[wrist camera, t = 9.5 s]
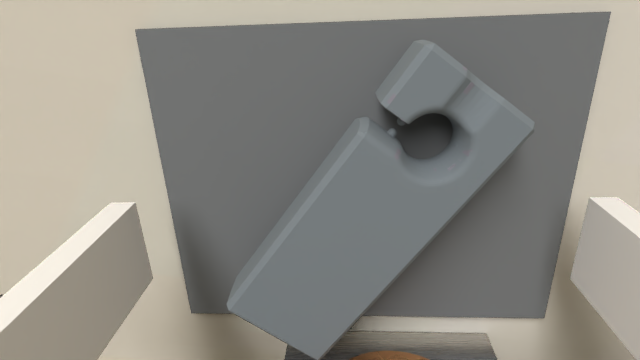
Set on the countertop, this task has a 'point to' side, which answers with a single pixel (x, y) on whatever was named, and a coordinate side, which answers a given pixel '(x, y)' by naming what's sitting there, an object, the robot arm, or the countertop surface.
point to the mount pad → (360, 101)
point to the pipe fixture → (405, 347)
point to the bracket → (376, 204)
